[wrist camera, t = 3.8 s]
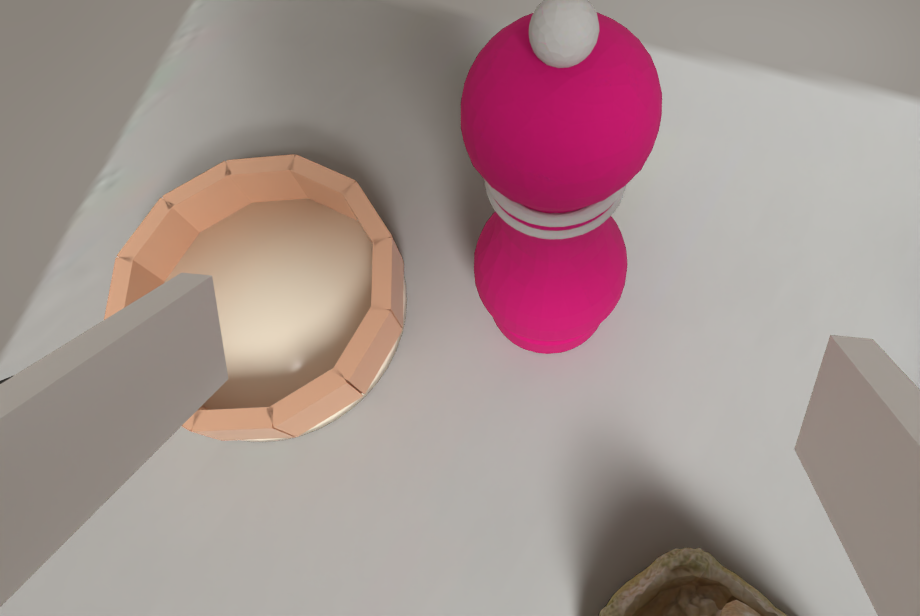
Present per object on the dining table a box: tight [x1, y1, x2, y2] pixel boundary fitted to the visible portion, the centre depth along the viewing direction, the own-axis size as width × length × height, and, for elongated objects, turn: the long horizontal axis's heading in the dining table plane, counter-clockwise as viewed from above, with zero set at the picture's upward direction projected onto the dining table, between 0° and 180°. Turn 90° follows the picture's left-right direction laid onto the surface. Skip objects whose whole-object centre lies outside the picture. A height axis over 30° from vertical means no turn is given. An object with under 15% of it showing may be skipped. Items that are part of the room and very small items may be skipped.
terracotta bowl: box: [104, 154, 407, 442], centre depth 33 cm, size 15×15×4 cm
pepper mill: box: [461, 0, 662, 354], centre depth 24 cm, size 7×7×20 cm
